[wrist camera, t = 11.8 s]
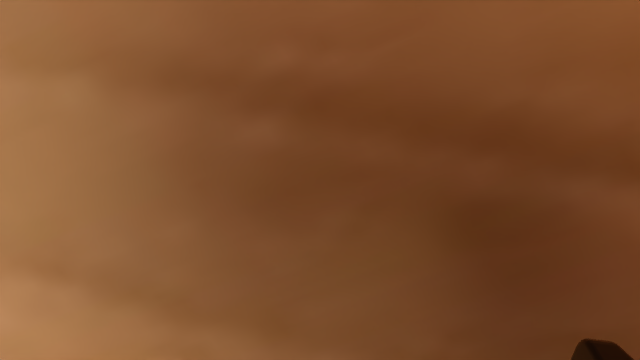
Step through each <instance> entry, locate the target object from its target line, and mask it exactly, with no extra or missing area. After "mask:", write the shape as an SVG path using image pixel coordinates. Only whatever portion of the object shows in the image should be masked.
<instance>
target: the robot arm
mask: <svg viewBox="0 0 640 360" xmlns="http://www.w3.org/2000/svg"><path fill="white" fill-rule="evenodd" d="M571 360H634V359H633V358H632V357H630V356H629V355H628V354H627V353H626V352H625V351H624V350H623V349H622V348H621V347H619V346H618V345H617V344H615V343H614V342H610V341H604V340H596V339H583V340H581V341H580V342H579V343H578V345H577V347H576V349H575V351H574V354H573V356H572V358H571Z"/></svg>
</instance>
